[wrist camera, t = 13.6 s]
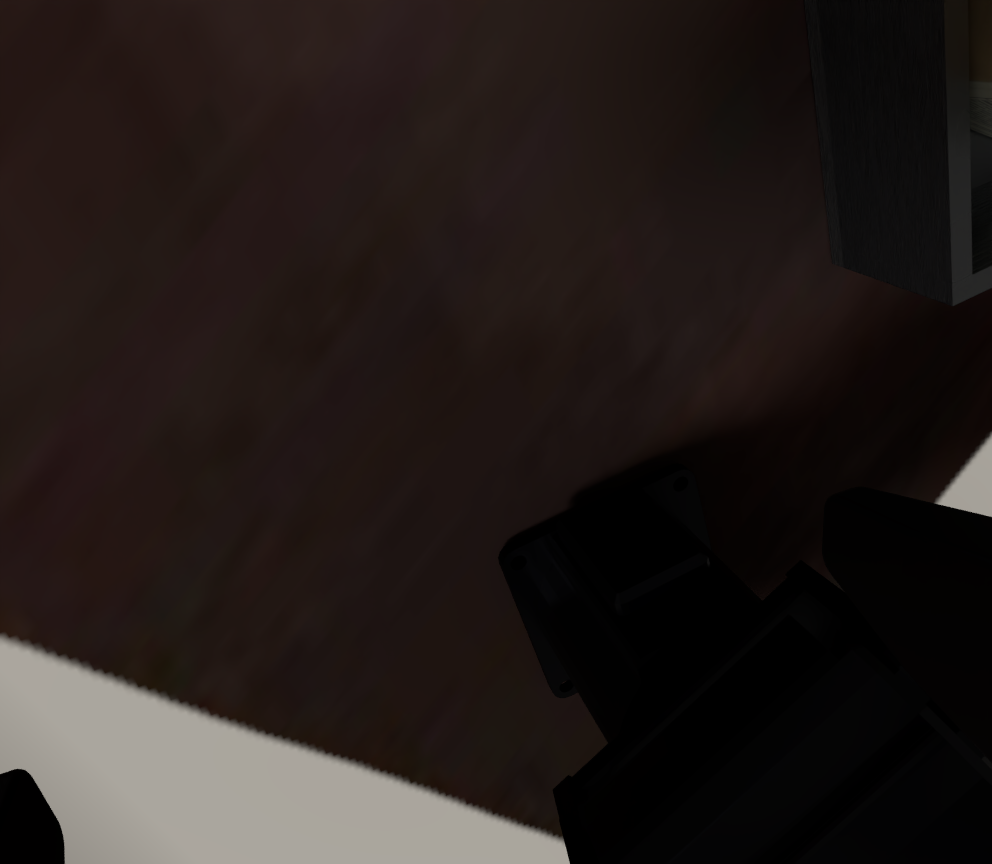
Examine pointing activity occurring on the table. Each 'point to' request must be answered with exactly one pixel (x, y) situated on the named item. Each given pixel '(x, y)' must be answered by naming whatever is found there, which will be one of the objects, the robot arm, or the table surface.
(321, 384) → the table surface
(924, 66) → the grey open tray
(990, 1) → the skincare box
